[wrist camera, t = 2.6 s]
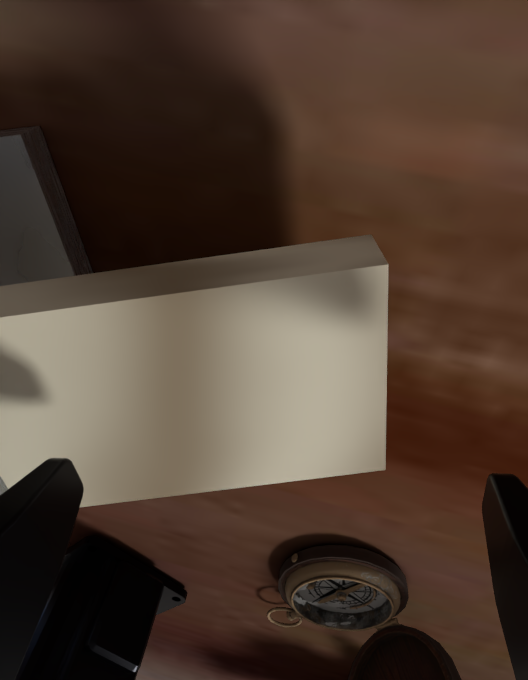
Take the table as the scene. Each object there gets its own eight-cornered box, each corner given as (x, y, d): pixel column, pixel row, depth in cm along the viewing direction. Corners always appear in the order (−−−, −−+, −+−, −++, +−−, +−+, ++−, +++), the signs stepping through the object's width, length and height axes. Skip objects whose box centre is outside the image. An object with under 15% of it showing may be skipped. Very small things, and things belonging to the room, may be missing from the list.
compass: (342, 521, 22) (340, 718, 16) (455, 600, 24) (489, 796, 18) (229, 578, 26) (195, 752, 20) (335, 641, 28) (332, 812, 23)
